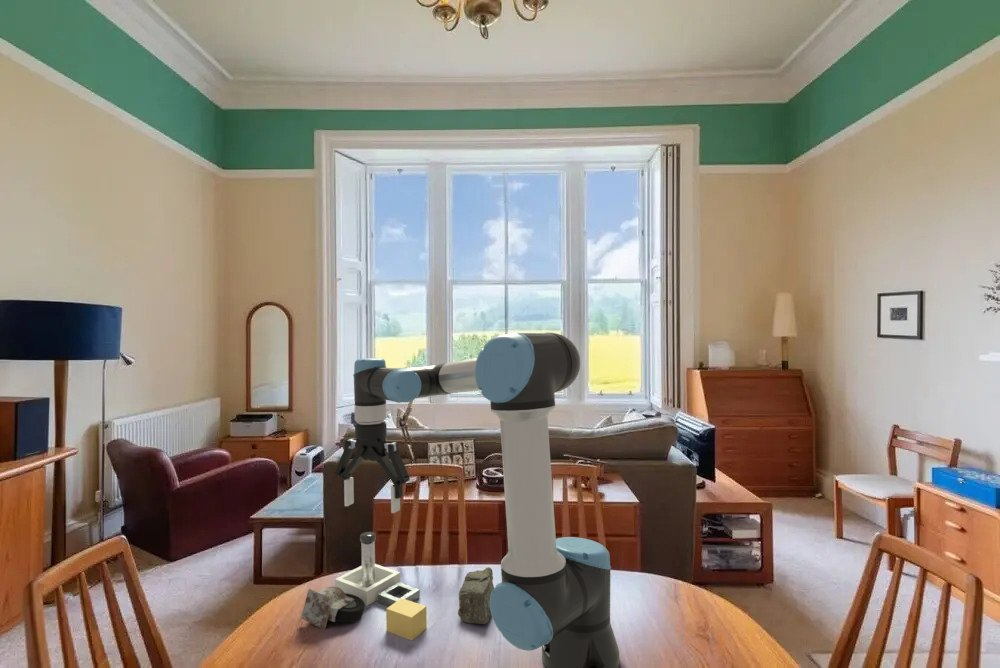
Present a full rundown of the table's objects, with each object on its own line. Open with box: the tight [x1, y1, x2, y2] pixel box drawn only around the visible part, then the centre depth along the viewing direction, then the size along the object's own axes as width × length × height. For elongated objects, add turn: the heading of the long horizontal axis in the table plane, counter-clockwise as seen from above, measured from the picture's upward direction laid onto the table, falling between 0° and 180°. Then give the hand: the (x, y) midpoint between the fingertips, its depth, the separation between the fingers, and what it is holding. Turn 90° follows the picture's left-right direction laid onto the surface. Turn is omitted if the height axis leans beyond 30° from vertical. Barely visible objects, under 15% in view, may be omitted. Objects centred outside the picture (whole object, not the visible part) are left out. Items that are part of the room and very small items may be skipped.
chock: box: [385, 597, 428, 641], centre depth 114 cm, size 7×5×5 cm
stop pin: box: [359, 531, 377, 588], centre depth 131 cm, size 4×4×13 cm
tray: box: [334, 563, 401, 607], centre depth 132 cm, size 11×11×4 cm
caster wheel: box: [301, 586, 366, 630], centre depth 119 cm, size 7×11×10 cm
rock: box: [457, 567, 495, 625], centre depth 123 cm, size 17×7×10 cm
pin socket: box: [377, 581, 421, 608], centre depth 127 cm, size 7×7×2 cm
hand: (372, 508), depth 129 cm, fingers open, 13 cm apart
